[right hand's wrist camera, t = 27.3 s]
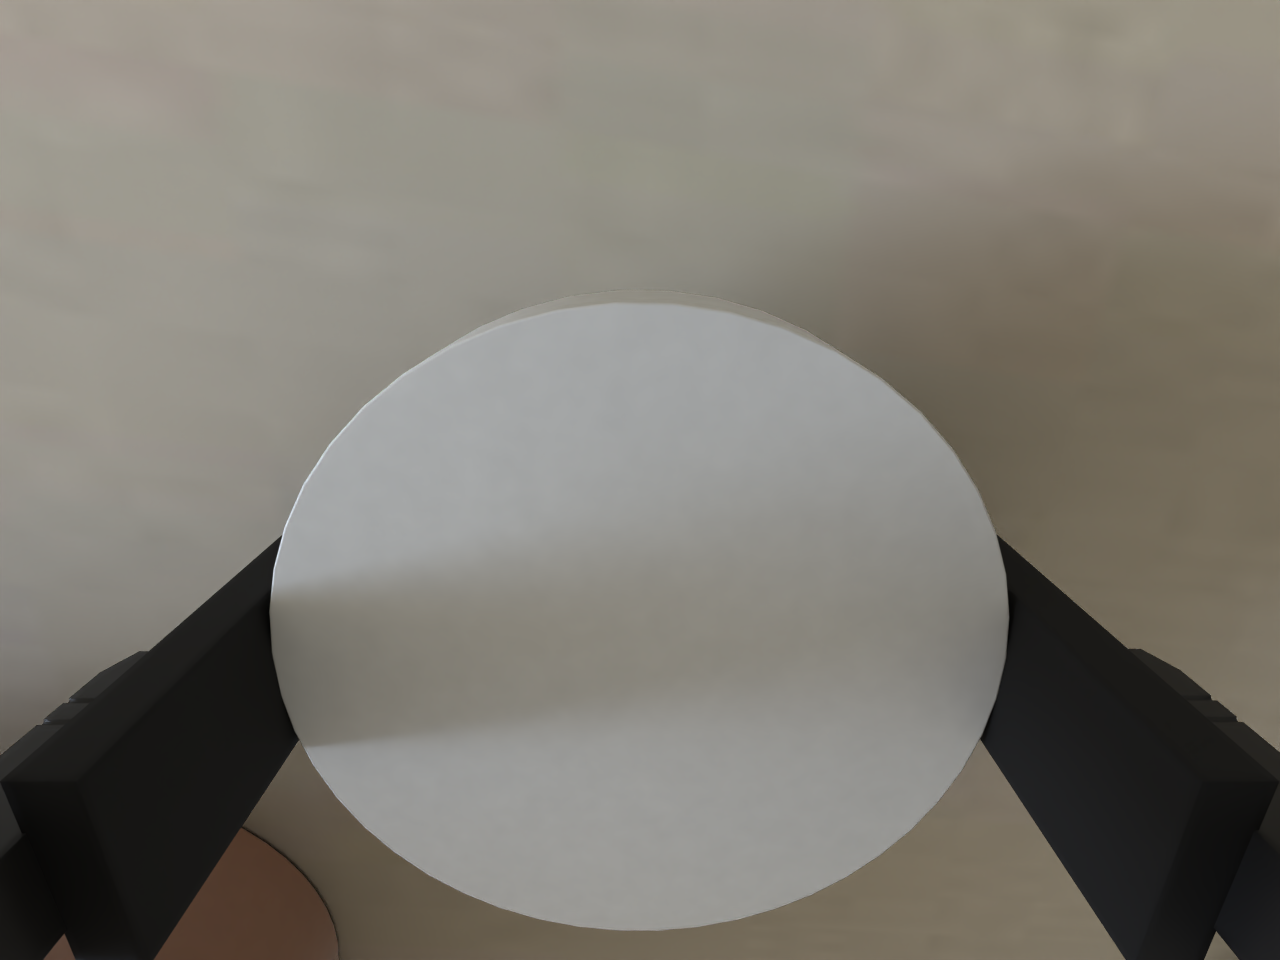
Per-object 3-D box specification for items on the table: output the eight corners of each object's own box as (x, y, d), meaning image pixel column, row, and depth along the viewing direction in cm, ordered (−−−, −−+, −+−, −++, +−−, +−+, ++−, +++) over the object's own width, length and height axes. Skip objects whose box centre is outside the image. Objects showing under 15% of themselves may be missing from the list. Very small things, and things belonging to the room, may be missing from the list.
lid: (274, 767, 13) (222, 844, 12) (394, 176, 9) (344, 166, 8) (799, 902, 14) (820, 988, 13) (1085, 428, 11) (1164, 465, 9)
